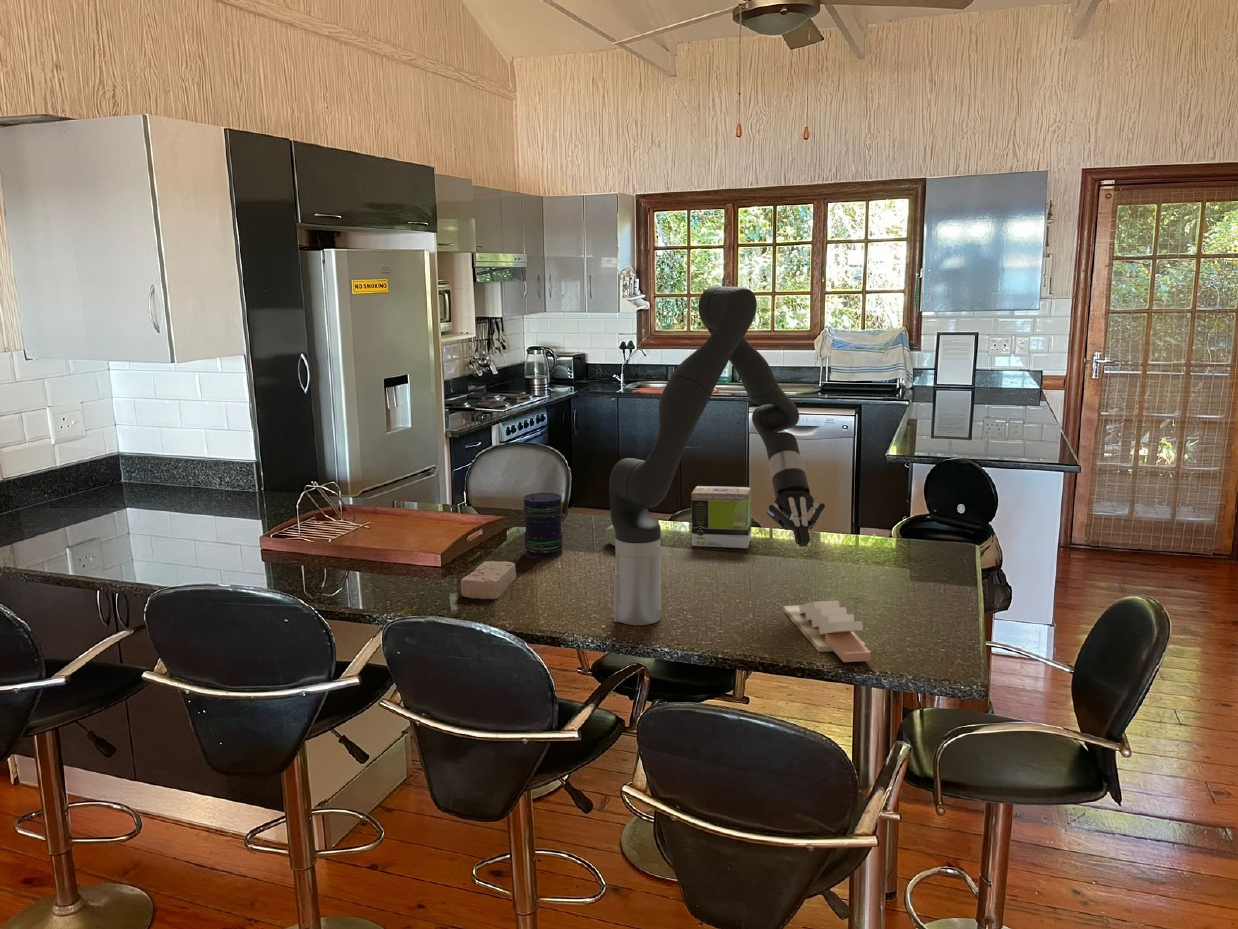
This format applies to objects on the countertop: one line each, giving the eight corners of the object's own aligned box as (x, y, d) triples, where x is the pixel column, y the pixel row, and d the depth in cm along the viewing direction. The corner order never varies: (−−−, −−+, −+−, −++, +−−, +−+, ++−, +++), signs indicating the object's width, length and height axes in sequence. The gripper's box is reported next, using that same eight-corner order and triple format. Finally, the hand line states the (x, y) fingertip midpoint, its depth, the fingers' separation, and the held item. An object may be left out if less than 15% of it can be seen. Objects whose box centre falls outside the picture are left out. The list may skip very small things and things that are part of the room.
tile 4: (818, 626, 180) (835, 622, 171) (843, 624, 181) (861, 620, 171) (819, 634, 180) (836, 631, 170) (844, 633, 181) (862, 629, 171)
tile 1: (799, 605, 192) (814, 601, 183) (822, 604, 193) (838, 600, 183) (799, 613, 192) (814, 609, 182) (823, 612, 192) (839, 608, 183)
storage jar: (551, 546, 248) (550, 491, 245) (570, 554, 240) (569, 497, 237) (518, 552, 242) (516, 496, 240) (536, 561, 234) (534, 503, 231)
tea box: (751, 539, 252) (752, 486, 250) (747, 549, 243) (748, 494, 240) (696, 537, 256) (696, 484, 253) (690, 546, 246) (690, 491, 243)
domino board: (783, 610, 197) (783, 606, 197) (824, 608, 198) (824, 604, 198) (819, 652, 174) (819, 647, 174) (865, 649, 175) (865, 644, 175)
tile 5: (825, 633, 176) (844, 653, 167) (850, 632, 177) (871, 652, 167) (825, 641, 177) (843, 662, 167) (850, 640, 177) (870, 660, 168)
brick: (483, 577, 222) (482, 558, 221) (517, 579, 221) (517, 559, 220) (460, 600, 206) (459, 580, 205) (496, 602, 205) (496, 581, 204)
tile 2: (805, 612, 188) (820, 608, 179) (829, 611, 189) (846, 607, 179) (806, 620, 188) (821, 616, 178) (830, 619, 188) (847, 615, 179)
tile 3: (811, 619, 184) (827, 615, 175) (835, 618, 185) (853, 613, 175) (812, 627, 184) (828, 623, 174) (836, 626, 185) (854, 622, 175)
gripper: (762, 467, 202) (777, 537, 192) (821, 466, 203) (839, 534, 194) (755, 486, 208) (769, 554, 198) (813, 484, 209) (829, 552, 200)
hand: (803, 544), depth 196 cm, fingers closed
